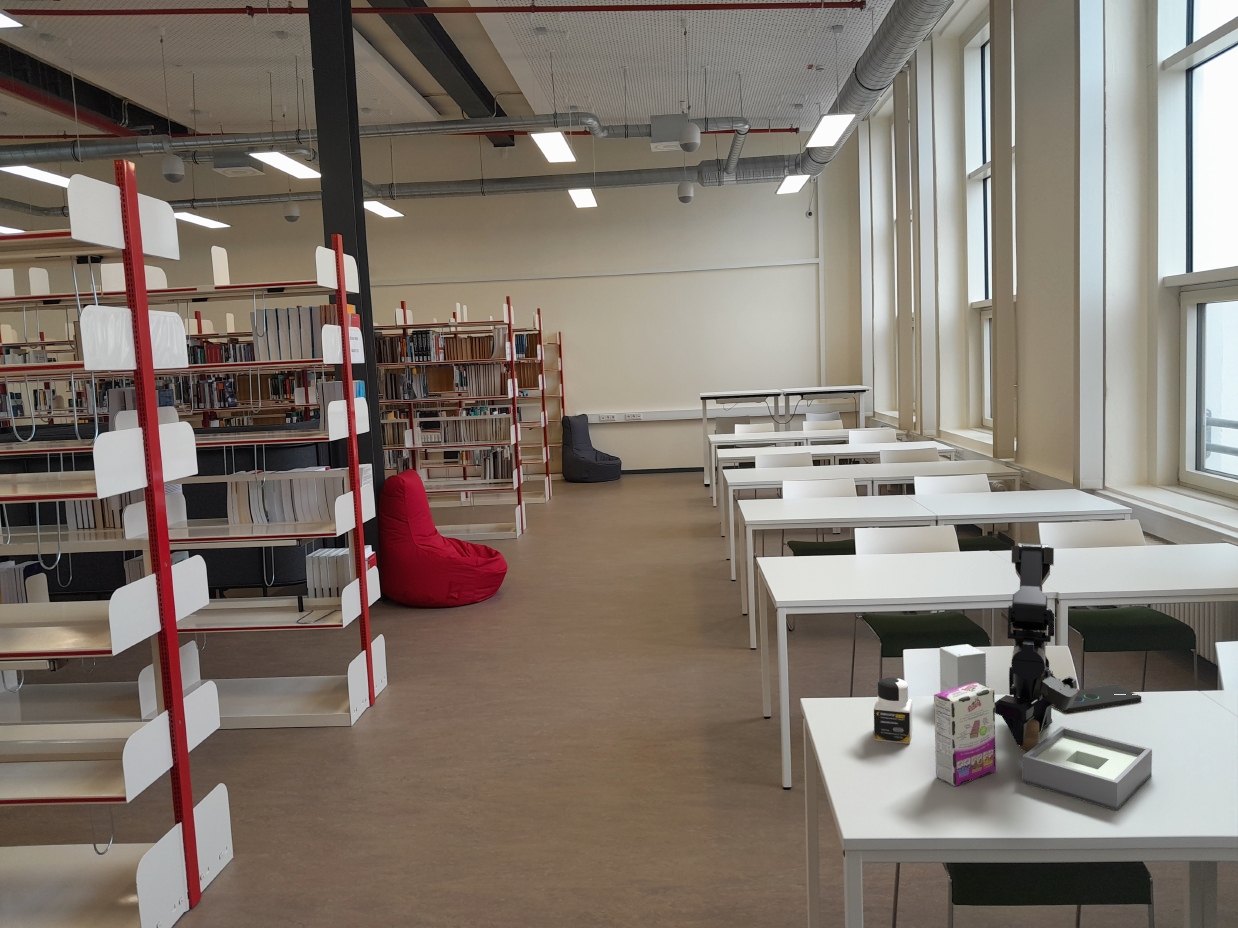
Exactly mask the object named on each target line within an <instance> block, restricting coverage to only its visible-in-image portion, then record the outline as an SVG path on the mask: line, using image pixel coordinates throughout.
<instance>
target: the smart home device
mask: <svg viewBox="0 0 1238 928" xmlns="http://www.w3.org/2000/svg"><path fill="white" fill-rule="evenodd" d="M1078 693H1079V695H1078V696H1076V698H1075V700H1074V702H1073V704H1072V706H1070V707H1068V708H1067V710H1061V709H1059V708H1057V707H1056V706H1055V705H1054V704H1052V705H1051V707H1052V706H1053V707H1052V708H1054V707H1055V708H1054V709H1056V708H1057V710H1058V709H1059V711H1060V712H1062V713H1064V714H1071V713H1077V712H1083V711H1085V712H1086V711H1090V710H1091V711H1092V710H1098V709H1104V708H1105V709H1106V708H1110V707H1116V706H1123V705H1129V704H1130V705H1131V704H1135V703H1141V702H1142V696H1141V695H1140V694H1137V695H1132V694H1136V693H1135V692H1133V691H1130V690H1128V689H1126V688H1123V687H1121V686H1118V685H1115V684H1114V685H1113V684H1112V685H1106V686H1105V685H1104V686H1099V687H1098V686H1097V687H1093V688H1086V689H1079V690H1078ZM1114 694H1126V695H1114Z"/></svg>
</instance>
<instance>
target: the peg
mask: <svg viewBox="0 0 1238 928" xmlns="http://www.w3.org/2000/svg"><path fill="white" fill-rule="evenodd" d="M1039 743H1040V733H1039V722H1038V721H1037V720H1034V719H1031V720H1029V721H1028V722H1027V726H1026V733H1025V739H1024V744H1023V746H1020V745H1018V747H1019V749H1020V750H1021V751H1024V752H1026V753H1027V752H1028V751H1030V750H1031V749H1032V748H1034V747H1035V746H1036V745H1037V744H1039Z"/></svg>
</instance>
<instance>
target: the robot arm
mask: <svg viewBox="0 0 1238 928" xmlns="http://www.w3.org/2000/svg"><path fill="white" fill-rule="evenodd" d="M1054 549H1055V548H1054V547H1049V544H1048V543H1047V544H1046V543H1029V542H1028V543H1025V542H1018V543H1017V545H1012V546H1011V564H1013V565H1014V567H1015V568H1014V569H1015V573H1016V575H1017V576H1018V578H1019V590H1017V591H1015V592H1014V593H1013V594H1012V602H1011V604H1008V606H1007V607H1008V608H1007V609H1008V613H1007V639H1009V640H1013V650H1012V656H1011V663H1010V664H1011V666H1009V670H1008V672H1009V673H1008V687H1009V688H1008V690H1009V691H1008V692H1009V693H1008V694H1009V695H1008V694H1005V695H1004V696H1002V697H1001V698H999V699H997V700H996V701H995V715H998V716H1001V718H1002V720H1003V721H1004V723H1005V724H1006V726H1007V727H1008V730H1009V731H1010V733H1011V736H1012V738H1013V740H1014V742H1015V743H1016V745H1018V746H1019V745H1020V746H1023V744H1024V739H1025V733H1026V726H1027V722H1028V721H1029V720H1031V719H1034V720H1037V721H1038V722H1039V734H1040V733H1041V732H1042V730H1043V728H1046V726H1047V725H1049V724H1051V723H1052V722H1053V719H1052V706H1051V705H1052V704H1054V705H1055V706H1056V707H1057V708H1059V709H1061V710H1067V708H1068V707H1070V706H1072V704H1073V702H1074V700H1075V698H1076V696H1078V695H1079V693H1078V690H1080V689H1079V688H1078V684H1077V679H1076V678H1074V677H1072V676H1071V675H1070V676H1067V677H1066V678H1064V679H1062V680H1061V678H1059V677H1058V678H1057V677H1055V674H1054V671H1053V670H1051V669H1050V661H1049V658H1048V657H1047V654H1046V653H1047V652H1046V644H1047V643H1051V640H1052V638H1051V637H1055V613H1054V612H1053V609H1052V607H1048V596H1047V595H1046V594H1045V593H1044V592H1043V586H1044V584H1045V583H1046V580H1048V578H1049V577H1050V575H1051V566H1053V567H1054V566H1055V563H1054V561H1055V559H1054V557H1055V556H1054V555H1055V554H1054V553H1055V550H1054ZM1046 631H1047V634H1046Z"/></svg>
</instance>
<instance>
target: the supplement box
mask: <svg viewBox="0 0 1238 928" xmlns="http://www.w3.org/2000/svg"><path fill="white" fill-rule="evenodd" d="M986 654H987V653H986V652H984V651H982V650H980V649H978V648H976V647H974V646H972V645H971V644H967V643H966V644H957V645H951V646H942V647H939V681H940V682H939V687H940V689H939V693H941V692H944V691H948V690H951V689H954V688H957V687H961V686H964V685H967V684H971V683H974V682H975V683H980V684H981V685H985V686H987V672H986V671H987V670H986V669H987V667H986V665H987V664H986V663H987V662H986V659H987V658H986V657H987V656H986Z"/></svg>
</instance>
